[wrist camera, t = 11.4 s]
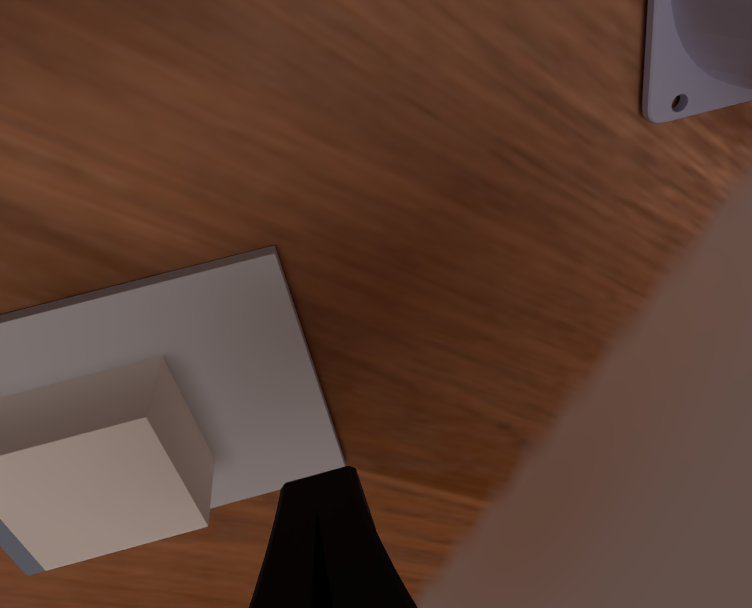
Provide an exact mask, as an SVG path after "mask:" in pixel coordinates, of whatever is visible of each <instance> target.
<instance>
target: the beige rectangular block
mask: <svg viewBox="0 0 752 608" xmlns="http://www.w3.org/2000/svg"><path fill="white" fill-rule="evenodd" d="M214 464H215V458H214V456H213V454H212V452H211V450H210V448H209V446H208V444H207V442H206V441H205V439H204V437H203V435H202V433H201V431H200V429H199V427H198V425H197V423H196V421H195V419H194V417H193V415H192V413H191V411H190V409H189V407H188V405H187V403H186V401H185V399H184V397H183V395H182V393H181V391H180V389H179V387H178V385H177V383H176V381H175V379H174V377H173V375H172V373H171V371H170V369H169V367H168V365H167V363H166V361H165V360H164V358H163V356H158V357H154V358H150V359H146V360H142V361H139V362H135V363H131V364H127V365H123V366H119V367H115V368H112V369H108V370H104V371H100V372H96V373H92V374H89V375H85V376H81V377H77V378H73V379H69V380H66V381H62V382H58V383H54V384H50V385H46V386H42V387H39V388H35V389H31V390H27V391H23V392H19V393H16V394H12V395H8V396H4V397H0V546H1V548H2V549H3V550H4V551H5V552H6V553H7V554H8V555H9V556H10V557H11V559H12V560H13V561H14V562H15V563H16V564H17V565H18V566H19V567H20V568H21V569H22V571H23V572H24V573H25V574H26V575H27V576H29V575H32V574H36V573H40V572H43V571H47V570H51V569H54V568H58V567H62V566H65V565H69V564H73V563H76V562H80V561H84V560H87V559H91V558H94V557H98V556H102V555H105V554H109V553H113V552H116V551H120V550H124V549H127V548H131V547H135V546H138V545H142V544H146V543H149V542H153V541H157V540H160V539H164V538H167V537H171V536H175V535H178V534H182V533H186V532H189V531H193V530H197V529H200V528H204V527H208V523H209V513H210V503H211V493H212V483H213V473H214Z"/></svg>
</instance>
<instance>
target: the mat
mask: <svg viewBox="0 0 752 608" xmlns="http://www.w3.org/2000/svg"><path fill="white" fill-rule="evenodd" d="M158 356H163V358H164V360H165V361H166V363H167V365H168V367H169V369H170V371H171V373H172V375H173V377H174V379H175V381H176V383H177V385H178V387H179V389H180V391H181V393H182V395H183V397H184V399H185V401H186V403H187V405H188V407H189V409H190V411H191V413H192V415H193V417H194V419H195V421H196V423H197V425H198V427H199V429H200V431H201V433H202V435H203V437H204V439H205V441H206V442H207V444H208V446H209V448H210V450H211V452H212V454H213V456H214V458H215V464H214V473H213V483H212V493H211V503H210V508H214V507H217V506H221V505H225V504H228V503H232V502H236V501H239V500H243V499H247V498H250V497H254V496H258V495H261V494H265V493H269V492H272V491H276V490H280V489H281V488H282V487H283V485H284V484H285V483H286V482H290V481H294V480H297V479H301V478H305V477H308V476H312V475H316V474H319V473H323V472H327V471H330V470H334V469H338V468H341V467H345V466H346V464H345V459H344V456H343V453H342V450H341V447H340V444H339V441H338V438H337V434H336V431H335V428H334V425H333V422H332V419H331V416H330V413H329V410H328V407H327V404H326V401H325V398H324V395H323V392H322V389H321V386H320V382H319V379H318V376H317V373H316V370H315V367H314V364H313V361H312V358H311V355H310V352H309V349H308V346H307V343H306V340H305V337H304V334H303V330H302V327H301V324H300V321H299V318H298V315H297V312H296V309H295V306H294V303H293V300H292V297H291V294H290V291H289V288H288V285H287V281H286V278H285V275H284V272H283V269H282V266H281V263H280V260H279V257H278V254H277V251H276V248H275V245H273V246H270V247H266V248H262V249H258V250H254V251H250V252H246V253H242V254H238V255H234V256H230V257H226V258H222V259H218V260H214V261H210V262H207V263H203V264H199V265H195V266H191V267H187V268H183V269H179V270H175V271H171V272H167V273H163V274H159V275H155V276H151V277H148V278H144V279H140V280H136V281H132V282H128V283H124V284H120V285H116V286H112V287H108V288H104V289H100V290H96V291H92V292H89V293H85V294H81V295H77V296H73V297H69V298H65V299H61V300H57V301H53V302H49V303H45V304H41V305H37V306H33V307H29V308H26V309H22V310H18V311H14V312H10V313H6V314H2V315H0V397H4V396H8V395H12V394H16V393H19V392H23V391H27V390H31V389H35V388H39V387H42V386H46V385H50V384H54V383H58V382H62V381H66V380H69V379H73V378H77V377H81V376H85V375H89V374H92V373H96V372H100V371H104V370H108V369H112V368H115V367H119V366H123V365H127V364H131V363H135V362H139V361H142V360H146V359H150V358H154V357H158Z"/></svg>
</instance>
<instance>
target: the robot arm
mask: <svg viewBox="0 0 752 608" xmlns="http://www.w3.org/2000/svg"><path fill="white" fill-rule="evenodd" d="M678 95H680V100H679V103H678V104H677V106H676V107H675V108H673V109H672V106H671V105H672V102H673V100H674V99H675V97H676V96H678ZM748 101H752V0H648V10H647V28H646V45H645V63H644V81H643V98H642V113H643V116H644V117H645V119H647V120H649V121H651V122H654V123H665V122H669V121H673V120H677V119H681V118H685V117H689V116H693V115H697V114H701V113H704V112H708V111H712V110H716V109H720V108H724V107H728V106H732V105H736V104H740V103H744V102H748ZM249 608H417V606H416V604H415V603H414V601H413V599H412V598H411V596H410V594H409V593H408V591H407V589H406V587H405V586H404V584H403V582H402V580H401V579H400V577H399V575H398V573H397V571H396V570H395V568H394V566H393V564H392V562H391V560H390V558H389V556H388V554H387V552H386V550H385V548H384V546H383V544H382V542H381V540H380V538H379V536H378V534H377V532H376V528H375V525H374V522H373V519H372V516H371V513H370V510H369V507H368V504H367V501H366V498H365V495H364V492H363V489H362V486H361V483H360V480H359V477H358V474H357V471H356V468H353V467H351V466H345V467H341V468H338V469H334V470H330V471H327V472H323V473H319V474H316V475H312V476H308V477H305V478H301V479H297V480H294V481H290V482H286V483H285V484H284V485H283V487H282V488H281V492H280V497H279V502H278V507H277V511H276V515H275V520H274V524H273V528H272V532H271V536H270V539H269V543H268V547H267V550H266V554H265V558H264V561H263V564H262V567H261V571H260V574H259V577H258V580H257V584H256V587H255V590H254V593H253V597H252V600H251V603H250V606H249Z"/></svg>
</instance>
